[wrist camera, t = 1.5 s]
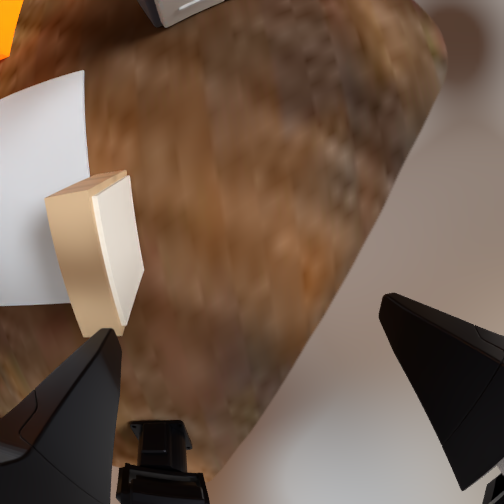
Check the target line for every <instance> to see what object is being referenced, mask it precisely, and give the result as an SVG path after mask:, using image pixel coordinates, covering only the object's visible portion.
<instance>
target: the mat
mask: <svg viewBox="0 0 504 504" xmlns="http://www.w3.org/2000/svg"><path fill="white" fill-rule="evenodd" d="M89 177H90V171H89V162H88V152H87V141H86V126H85V103H84V70H81V71H77V72H74V73H70V74H67V75H64V76H60V77H57V78H54V79H51V80H48V81H45V82H42V83H40V84H37V85H34V86H31V87H29V88H26V89H24V90H21V91H19V92H16V93H14V94H11V95H9V96H7V97H4V98H2V99H0V306H17V305H40V304H59V303H71V302H70V299H69V296H68V293H67V290H66V287H65V284H64V280H63V277H62V274H61V270H60V267H59V263H58V259H57V256H56V252H55V248H54V244H53V239H52V235H51V231H50V226H49V221H48V216H47V211H46V206H45V200H44V198H46V197H48V196H50V195H52V194H54V193H56V192H58V191H60V190H62V189H64V188H66V187H69V186H71V185H73V184H75V183H77V182H79V181H82V180H84V179H86V178H89Z"/></svg>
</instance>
